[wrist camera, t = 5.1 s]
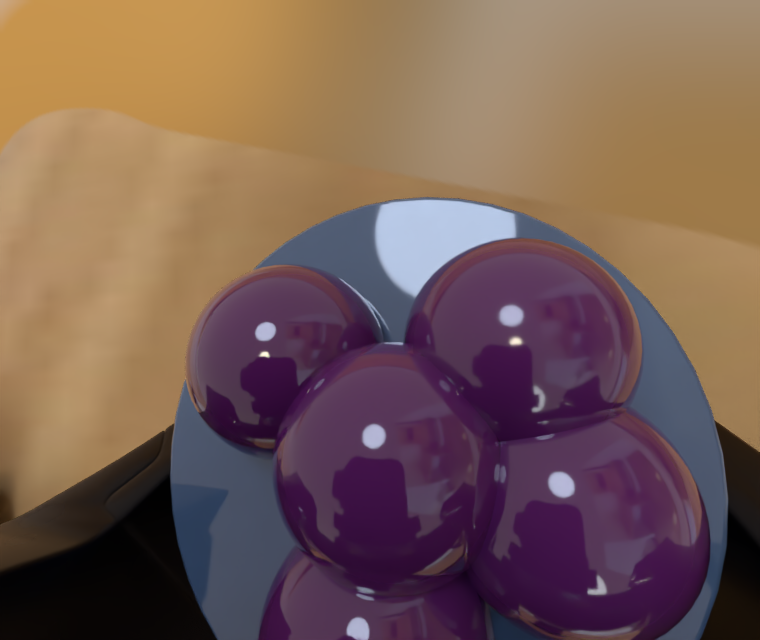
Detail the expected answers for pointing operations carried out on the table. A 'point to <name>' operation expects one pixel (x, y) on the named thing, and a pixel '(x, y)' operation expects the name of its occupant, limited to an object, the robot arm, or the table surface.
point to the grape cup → (444, 441)
